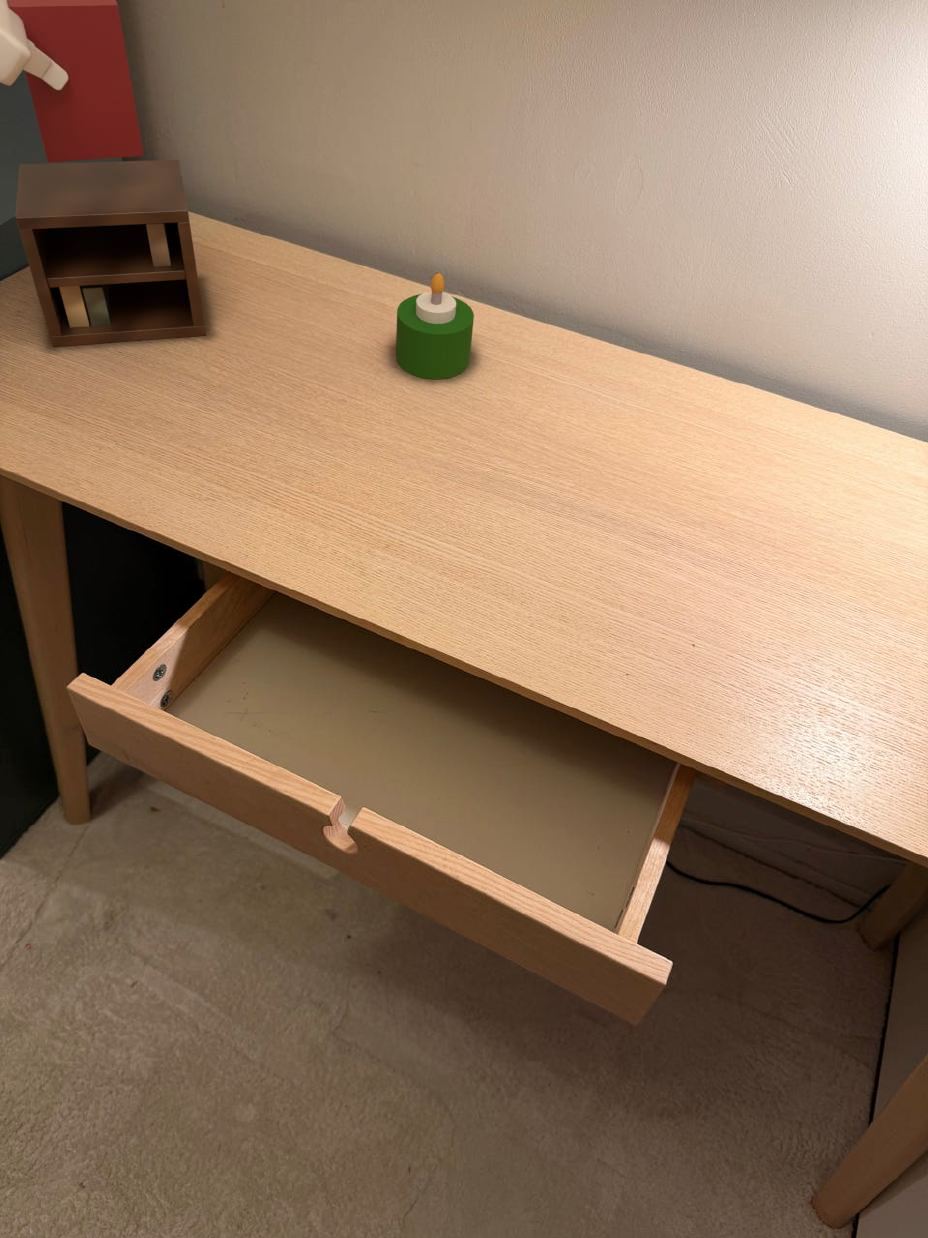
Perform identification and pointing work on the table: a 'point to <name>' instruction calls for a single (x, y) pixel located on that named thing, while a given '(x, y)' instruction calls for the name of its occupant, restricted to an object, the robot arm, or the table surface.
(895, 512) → the table surface
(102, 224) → the bookshelf
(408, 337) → the candle
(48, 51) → the book
